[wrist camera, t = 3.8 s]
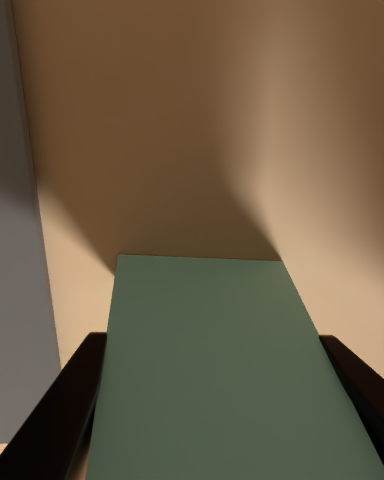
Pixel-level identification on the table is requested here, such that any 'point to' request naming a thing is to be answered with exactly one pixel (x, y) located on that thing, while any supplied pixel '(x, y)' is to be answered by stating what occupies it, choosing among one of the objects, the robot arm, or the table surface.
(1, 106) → the mat
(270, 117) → the table surface
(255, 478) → the teal tile
